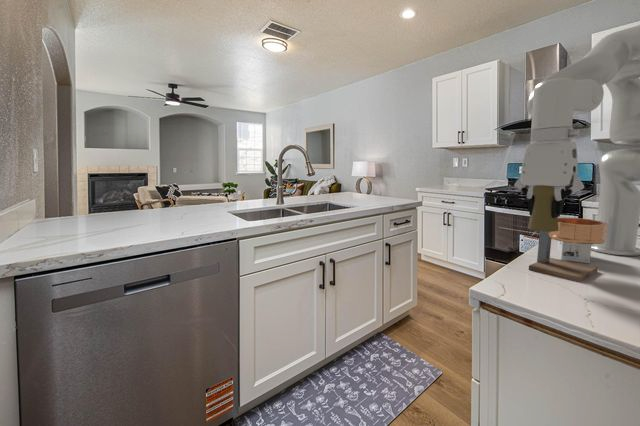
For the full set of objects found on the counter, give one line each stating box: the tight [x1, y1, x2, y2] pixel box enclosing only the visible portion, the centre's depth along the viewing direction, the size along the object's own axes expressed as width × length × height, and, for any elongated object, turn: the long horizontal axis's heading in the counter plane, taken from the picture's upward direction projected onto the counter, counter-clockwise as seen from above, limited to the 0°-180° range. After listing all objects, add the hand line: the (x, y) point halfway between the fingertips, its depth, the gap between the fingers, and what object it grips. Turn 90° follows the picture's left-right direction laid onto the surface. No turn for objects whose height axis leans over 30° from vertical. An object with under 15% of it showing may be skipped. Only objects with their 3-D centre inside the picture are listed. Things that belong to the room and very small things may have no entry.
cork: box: [527, 185, 559, 232], centre depth 74 cm, size 6×6×11 cm
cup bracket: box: [528, 217, 608, 283], centre depth 80 cm, size 12×13×14 cm
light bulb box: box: [556, 240, 592, 264], centre depth 92 cm, size 11×7×11 cm, turn 148°
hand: (544, 215), depth 74 cm, fingers closed on cork, 3 cm apart
